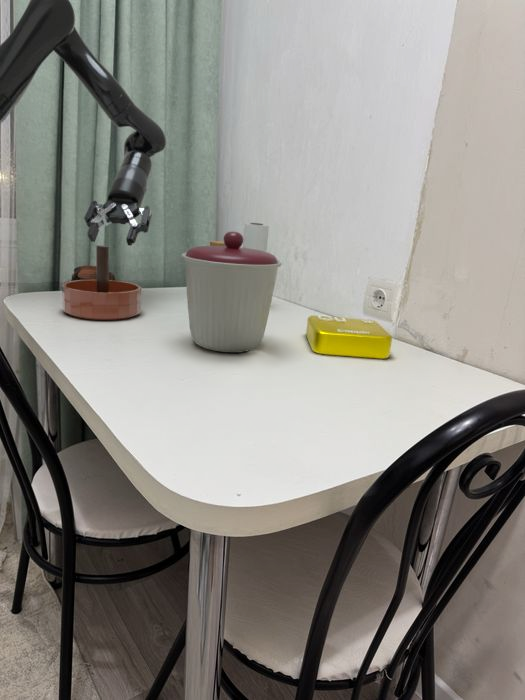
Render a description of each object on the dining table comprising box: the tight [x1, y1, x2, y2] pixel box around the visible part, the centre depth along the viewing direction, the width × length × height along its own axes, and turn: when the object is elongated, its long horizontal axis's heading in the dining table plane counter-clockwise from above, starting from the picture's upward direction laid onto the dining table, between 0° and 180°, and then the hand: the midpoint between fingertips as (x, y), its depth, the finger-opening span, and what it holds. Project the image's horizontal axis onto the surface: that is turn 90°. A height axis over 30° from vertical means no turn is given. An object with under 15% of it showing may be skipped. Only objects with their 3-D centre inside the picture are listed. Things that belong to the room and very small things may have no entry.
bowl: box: [61, 280, 142, 321], centre depth 112 cm, size 16×16×6 cm
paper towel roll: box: [242, 222, 270, 252], centre depth 130 cm, size 7×6×21 cm
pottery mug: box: [70, 265, 116, 281], centre depth 131 cm, size 12×10×8 cm
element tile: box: [305, 314, 393, 360], centre depth 102 cm, size 15×15×5 cm
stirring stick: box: [95, 245, 110, 292], centre depth 110 cm, size 5×5×14 cm
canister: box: [180, 231, 283, 353], centre depth 93 cm, size 18×18×21 cm
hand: (110, 241), depth 112 cm, fingers open, 8 cm apart
